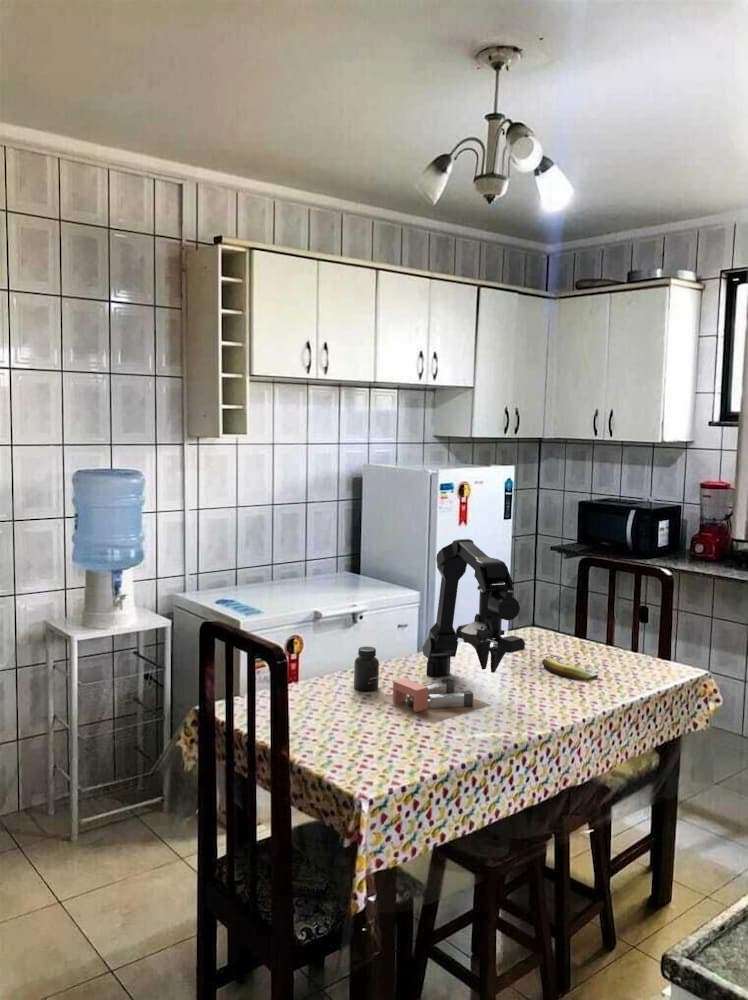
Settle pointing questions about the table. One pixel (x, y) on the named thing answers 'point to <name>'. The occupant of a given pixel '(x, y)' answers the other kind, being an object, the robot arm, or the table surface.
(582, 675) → the green-yellow banana
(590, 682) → the table surface
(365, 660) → the supplement bottle
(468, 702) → the tongs jaw
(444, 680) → the tongs fixed
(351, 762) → the table surface
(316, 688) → the table surface
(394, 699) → the pink u-shaped block
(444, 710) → the board
